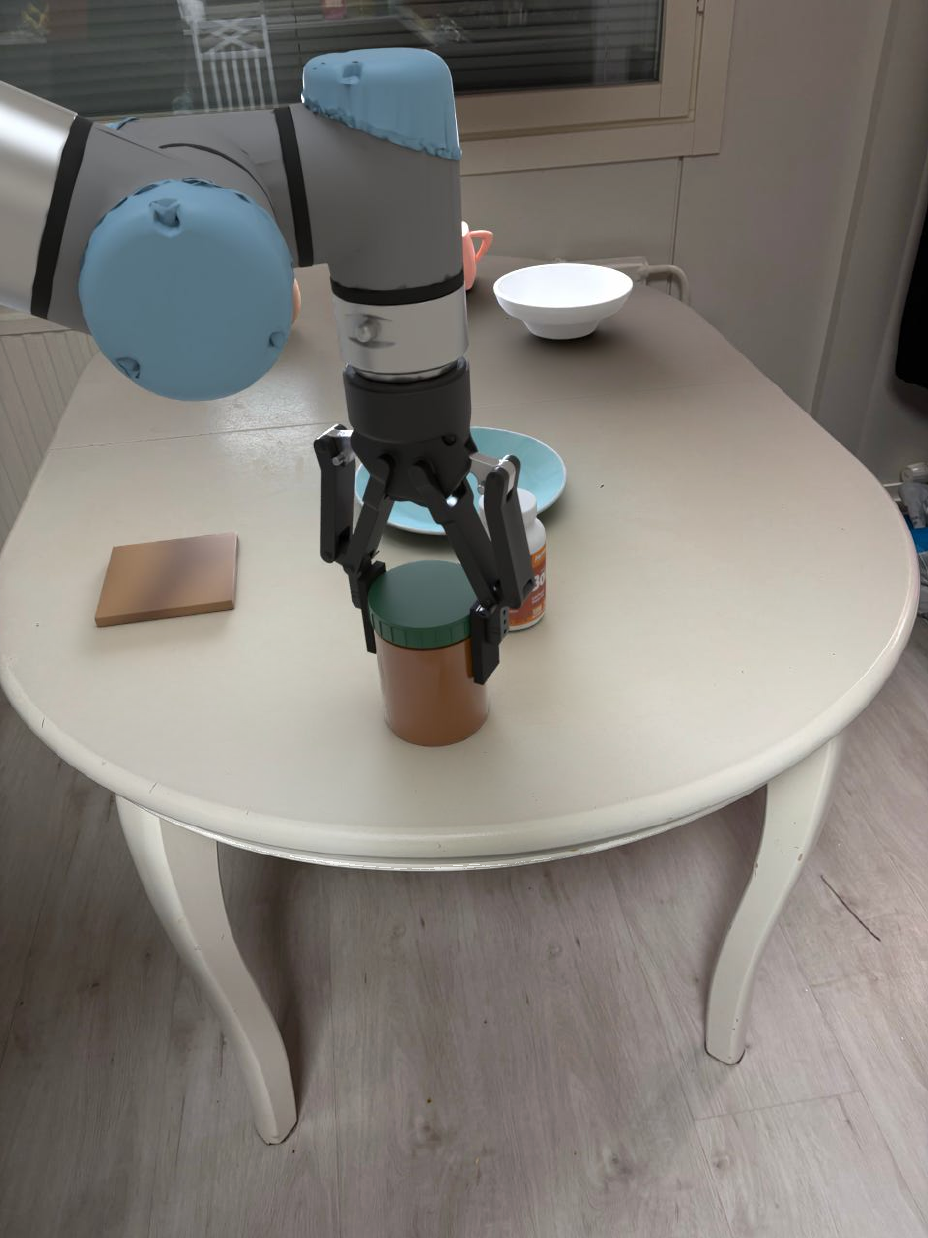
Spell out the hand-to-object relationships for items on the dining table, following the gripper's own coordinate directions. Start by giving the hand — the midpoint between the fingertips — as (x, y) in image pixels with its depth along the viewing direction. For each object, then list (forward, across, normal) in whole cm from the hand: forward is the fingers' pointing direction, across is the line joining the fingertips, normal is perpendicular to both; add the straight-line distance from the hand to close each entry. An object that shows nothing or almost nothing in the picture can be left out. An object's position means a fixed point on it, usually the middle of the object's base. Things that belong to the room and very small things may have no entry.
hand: (432, 657), depth 68 cm
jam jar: (+5, 0, 0) cm, 5 cm away
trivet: (+5, -31, +6) cm, 32 cm away
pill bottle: (+5, 0, +14) cm, 15 cm away
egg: (+5, -62, +65) cm, 90 cm away
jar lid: (-6, 0, 0) cm, 6 cm away
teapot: (+5, -48, +92) cm, 104 cm away
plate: (+5, -13, +30) cm, 33 cm away
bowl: (+5, -21, +78) cm, 81 cm away
